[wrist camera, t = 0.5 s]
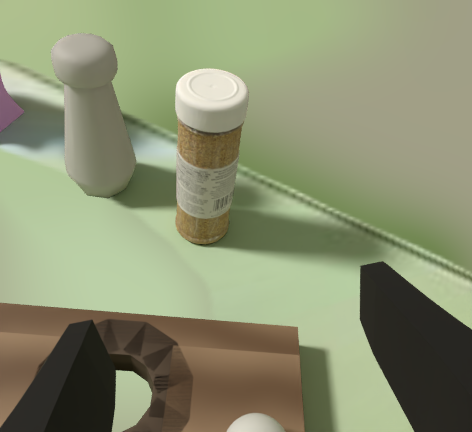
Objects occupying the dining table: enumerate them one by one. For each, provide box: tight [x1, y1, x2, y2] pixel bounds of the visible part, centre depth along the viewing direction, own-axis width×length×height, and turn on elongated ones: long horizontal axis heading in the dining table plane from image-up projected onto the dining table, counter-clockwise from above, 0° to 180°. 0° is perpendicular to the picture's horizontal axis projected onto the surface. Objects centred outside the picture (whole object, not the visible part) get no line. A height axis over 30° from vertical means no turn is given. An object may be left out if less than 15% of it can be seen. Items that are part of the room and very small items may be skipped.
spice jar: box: [175, 69, 249, 244], centre depth 32 cm, size 5×5×13 cm
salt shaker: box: [51, 33, 136, 198], centre depth 34 cm, size 6×6×13 cm
